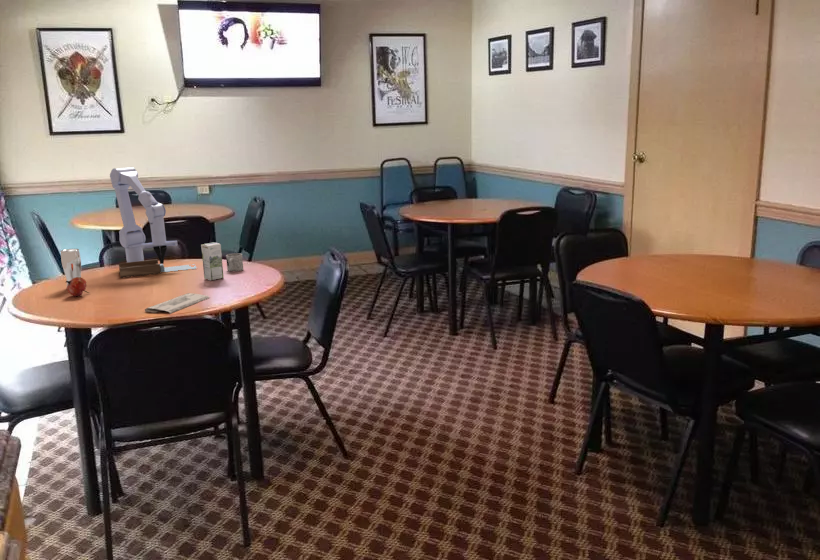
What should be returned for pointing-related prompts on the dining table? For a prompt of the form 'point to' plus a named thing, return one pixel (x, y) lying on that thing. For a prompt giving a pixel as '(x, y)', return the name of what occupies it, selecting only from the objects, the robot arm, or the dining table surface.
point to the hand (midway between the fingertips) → (161, 263)
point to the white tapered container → (71, 263)
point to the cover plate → (175, 268)
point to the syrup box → (212, 261)
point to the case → (139, 268)
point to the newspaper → (177, 303)
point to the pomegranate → (76, 286)
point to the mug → (234, 262)
